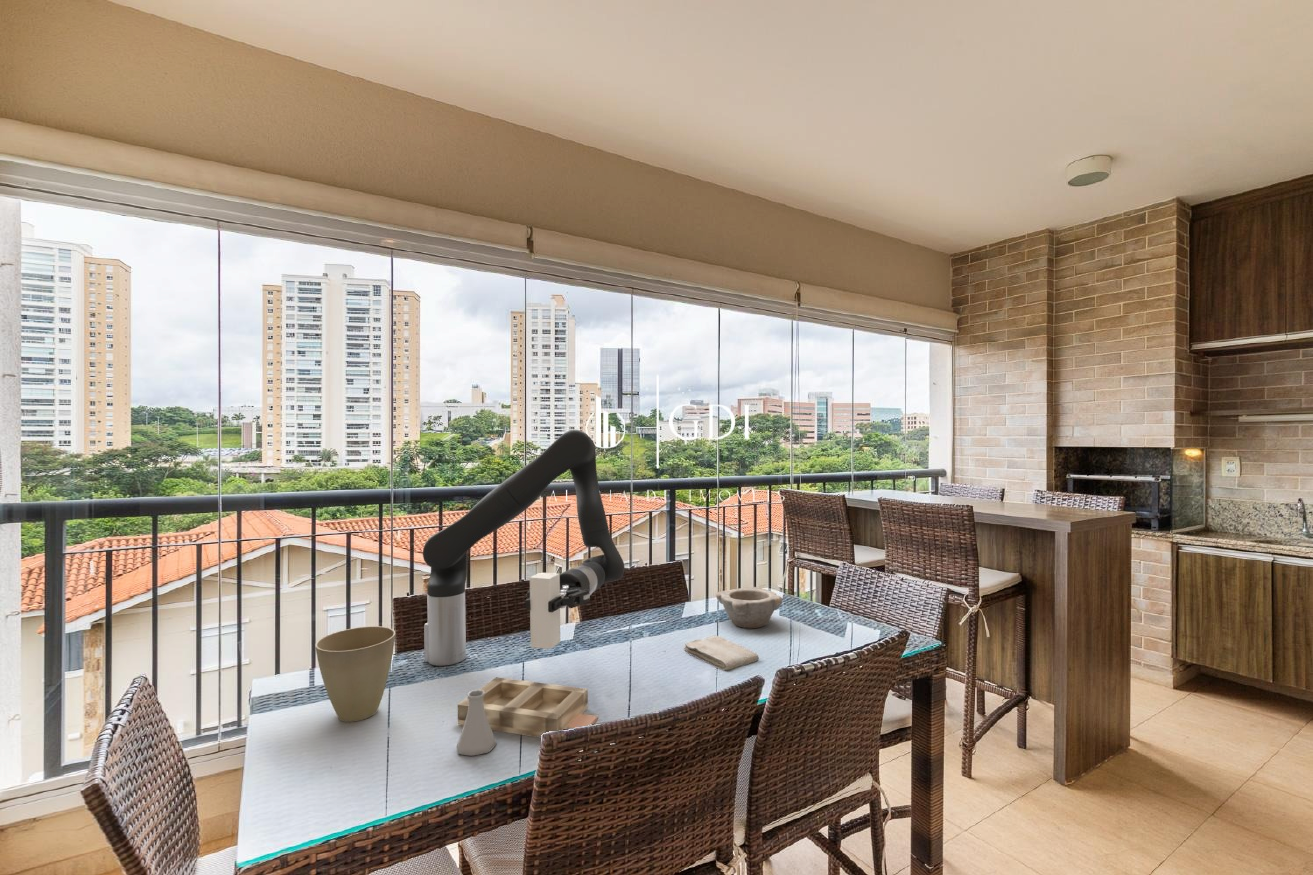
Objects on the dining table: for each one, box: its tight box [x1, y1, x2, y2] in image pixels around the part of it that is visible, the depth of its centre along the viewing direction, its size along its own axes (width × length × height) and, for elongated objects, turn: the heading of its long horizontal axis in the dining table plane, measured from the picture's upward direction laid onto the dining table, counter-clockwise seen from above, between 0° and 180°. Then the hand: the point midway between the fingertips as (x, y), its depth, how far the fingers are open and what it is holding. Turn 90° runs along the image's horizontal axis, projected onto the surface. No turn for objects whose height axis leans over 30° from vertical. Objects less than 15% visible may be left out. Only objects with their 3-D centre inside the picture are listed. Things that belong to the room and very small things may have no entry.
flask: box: [456, 689, 497, 756], centre depth 112 cm, size 7×7×10 cm
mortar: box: [715, 586, 783, 629], centre depth 182 cm, size 17×17×9 cm
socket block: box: [457, 676, 599, 739], centre depth 123 cm, size 26×14×4 cm, turn 73°
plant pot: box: [314, 625, 396, 723], centre depth 125 cm, size 15×15×16 cm
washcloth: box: [683, 635, 760, 671], centre depth 156 cm, size 12×18×3 cm, turn 35°
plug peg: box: [529, 572, 561, 650], centre depth 122 cm, size 4×4×14 cm
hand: (538, 606), depth 119 cm, fingers closed on plug peg, 4 cm apart
